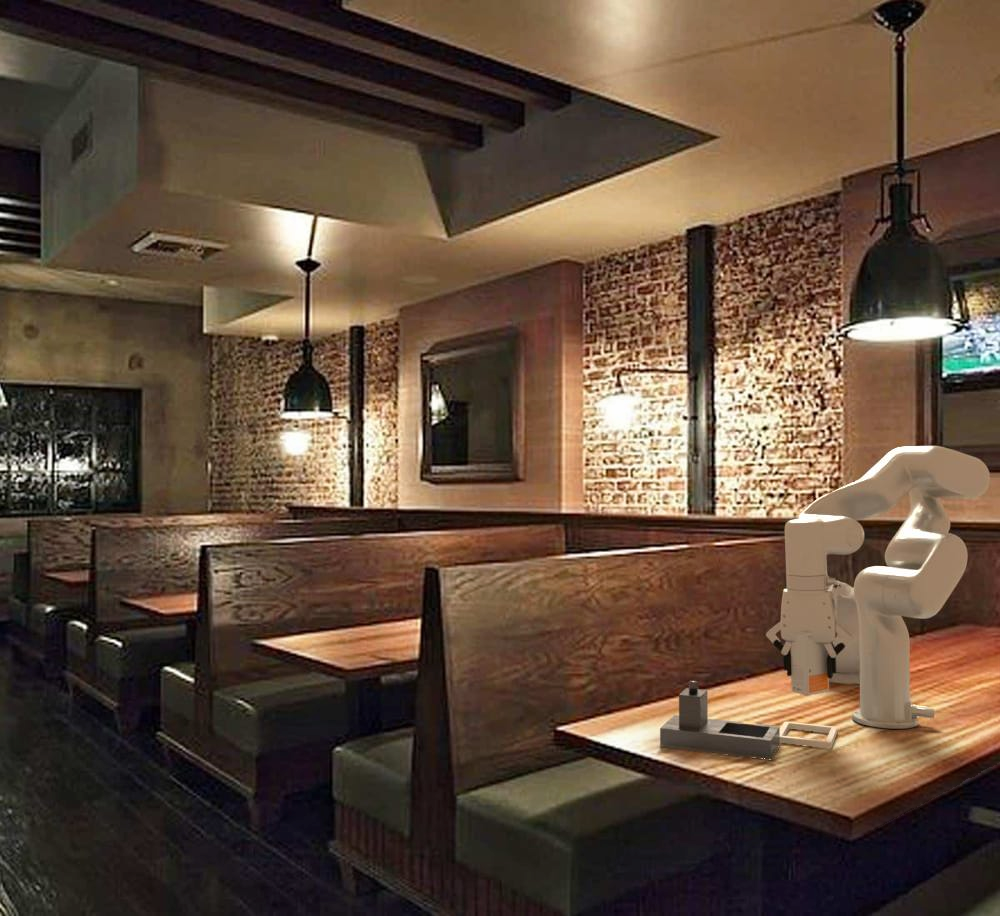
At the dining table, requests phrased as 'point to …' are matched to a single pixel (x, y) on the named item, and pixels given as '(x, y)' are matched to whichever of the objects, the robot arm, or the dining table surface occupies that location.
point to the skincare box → (808, 665)
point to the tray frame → (806, 741)
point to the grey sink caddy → (715, 730)
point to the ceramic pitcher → (850, 622)
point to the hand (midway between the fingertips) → (810, 674)
